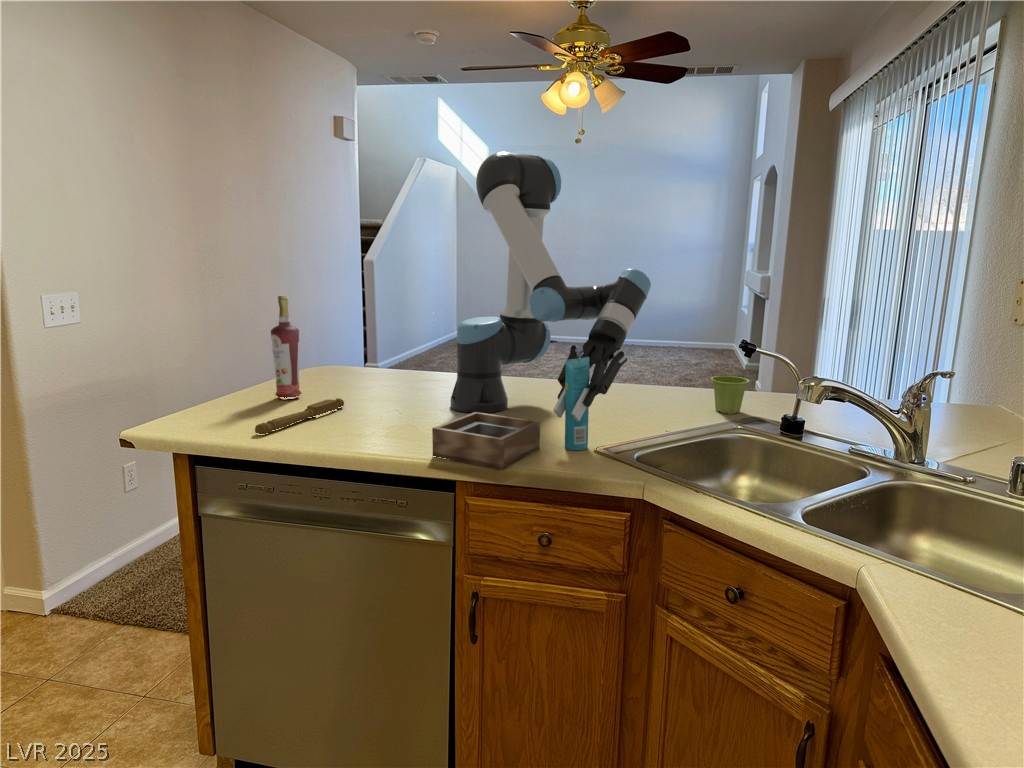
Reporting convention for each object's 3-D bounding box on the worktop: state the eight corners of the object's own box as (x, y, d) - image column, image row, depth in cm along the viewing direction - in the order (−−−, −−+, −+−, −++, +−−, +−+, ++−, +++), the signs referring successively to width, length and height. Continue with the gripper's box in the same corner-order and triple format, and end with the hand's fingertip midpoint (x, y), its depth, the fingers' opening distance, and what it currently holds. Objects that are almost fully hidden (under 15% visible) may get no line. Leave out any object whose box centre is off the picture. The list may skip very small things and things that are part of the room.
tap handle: (253, 423, 150) (336, 396, 177) (254, 436, 151) (337, 407, 178) (264, 424, 149) (346, 397, 176) (265, 438, 150) (346, 408, 177)
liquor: (308, 397, 188) (303, 296, 182) (286, 402, 182) (280, 297, 176) (290, 394, 192) (285, 294, 186) (268, 398, 186) (262, 296, 180)
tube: (576, 441, 148) (578, 355, 144) (595, 446, 145) (598, 357, 141) (556, 449, 143) (558, 359, 139) (575, 453, 140) (577, 361, 136)
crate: (432, 456, 136) (432, 428, 135) (475, 438, 150) (475, 411, 149) (501, 470, 129) (501, 439, 128) (539, 449, 143) (540, 421, 141)
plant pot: (748, 417, 172) (751, 383, 171) (710, 414, 174) (712, 381, 173) (744, 408, 181) (746, 376, 180) (707, 406, 183) (709, 375, 182)
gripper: (650, 343, 146) (607, 432, 137) (584, 336, 157) (540, 419, 147) (640, 320, 141) (594, 412, 132) (572, 314, 152) (526, 399, 142)
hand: (566, 415), depth 140 cm, fingers closed on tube, 4 cm apart
